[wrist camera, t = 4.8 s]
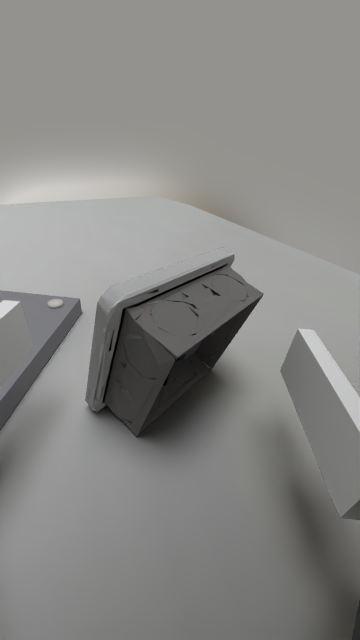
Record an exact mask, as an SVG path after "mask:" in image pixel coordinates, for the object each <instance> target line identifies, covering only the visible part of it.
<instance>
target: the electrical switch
mask: <svg viewBox="0 0 360 640" xmlns="http://www.w3.org/2000/svg"><path fill="white" fill-rule="evenodd" d="M233 261H234V254H233V253H231V252H230V251H228V250H226V249H225V248H223V247H222V248H219V249H216V250H213V251H210V252H207V253H205V254H202V255H199V256H196V257H193V258H190V259H187V260H185V261H182V262H179V263H176V264H173V265H170V266H167V267H165V268H162V269H159V270H156V271H153V272H150V273H147V274H145V275H142V276H139V277H136V278H133V279H130V280H127V281H125V282H122V283H119V284H116V285H113V286H110V287H109V288H108V289H107V291H106V292H105V293H104V294H103V295H102V296H101V297H100V299H99V301H98V302H97V310H96V318H95V326H94V334H93V342H92V350H91V359H90V367H89V375H88V383H87V391H86V398H85V400H86V402H87V403H88V405H89V406H90V407H91V409H92V410H93V411H96V412H98V411H99V410H101V409H102V408H103V407H105V406H106V405H108V407H109V408H110V409H111V410H112V412H113V413H114V414H115V415H116V416H117V417H118V418H119V419H121V420H122V421H123V422H124V423H125V424H126V425H127V427H128V428H129V429H130V430H131V431H132V432H133V434H134V435H135V436H136V437H137V435H139V434H140V433H141V432H142V431H143V430H144V429H145V428H146V427H148V426H149V425H150V424H151V423H152V422H153V421H154V420H155V419H156V418H157V417H159V416H160V415H161V414H162V413H163V412H164V411H165V410H166V409H167V408H168V407H170V406H171V405H172V404H173V403H174V402H175V401H176V400H177V399H178V398H180V397H181V396H182V395H183V394H184V393H185V392H186V391H187V390H188V389H189V388H191V387H192V386H193V385H194V384H195V383H196V382H197V381H198V380H199V379H201V378H202V377H203V376H204V375H205V374H206V373H207V372H208V371H209V370H210V368H211V369H212V368H213V367H214V365H215V364H216V362H217V361H218V359H219V358H220V356H221V355H222V354H223V352H224V351H225V349H226V348H227V346H228V345H229V344H230V342H231V341H232V339H233V338H234V336H235V335H236V333H237V332H238V331H239V329H240V328H241V326H242V325H243V323H244V322H245V321H246V319H247V318H248V316H249V315H250V313H251V312H252V310H253V309H254V308H255V306H256V305H257V303H258V302H259V300H260V299H261V298H262V296H263V293H262V292H260V291H259V290H257V289H256V288H254V287H253V286H251V285H250V284H248V283H247V282H246V281H245V280H244V279H243V278H242V277H241V276H240V275H239V274H238V273H236V272H235V271H233V269H232V268H231V267H230V266H231V265H232V263H233ZM190 361H191V362H192V363H193V364H192V363H191V362H190ZM206 364H207V365H208V366H209V367H210V368H209V367H208V366H207V365H206ZM175 377H176V378H177V379H178V380H177V379H175ZM166 379H167V381H168V383H167V384H166V385H164V386H163V384H164V382H165V380H166ZM187 380H188V381H187ZM183 381H186V382H183ZM158 393H159V395H158ZM158 407H159V408H158ZM157 408H158V409H157Z"/></svg>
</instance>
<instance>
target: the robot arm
mask: <svg viewBox="0 0 360 640" xmlns="http://www.w3.org/2000/svg"><path fill="white" fill-rule="evenodd" d="M32 348H33V344H32V341H31V337H30V334H29V330H28V327H27V323H26V320H25V316H24V313H23V309H22V306H21V302H20V301H9V300H3V301H2V302H1V303H0V388H1V387H2V386H3V384H4V383H5V382H6V381H7V379H8V378H9V377H10V376H11V374H12V373H13V372H14V371H15V369H16V368H17V367H18V366H19V364H20V363H21V362H22V361H23V360H24V358H25V357H26V356H27V355H28V353H29V352H30V351H31V350H32ZM280 371H281V373H282V376H283V378H284V381H285V383H286V386H287V388H288V391H289V393H290V396H291V398H292V401H293V403H294V406H295V408H296V411H297V413H298V416H299V418H300V421H301V423H302V426H303V428H304V430H305V433H306V435H307V438H308V440H309V443H310V445H311V448H312V450H313V453H314V455H315V458H316V460H317V463H318V465H319V468H320V470H321V473H322V475H323V478H324V480H325V483H326V485H327V488H328V490H329V492H330V495H331V497H332V500H333V502H334V505H335V507H336V510H337V512H338V515H339V517H340V518H344V519H356V520H360V397H359V396H358V394H357V393H356V391H355V390H354V388H353V387H352V385H351V384H350V383H349V381H348V380H347V378H346V377H345V375H344V374H343V372H342V371H341V369H340V368H339V366H338V365H337V363H336V362H335V360H334V359H333V358H332V356H331V355H330V353H329V352H328V350H327V349H326V347H325V346H324V344H323V343H322V341H321V340H320V338H319V337H318V335H317V334H316V333H315V331H314V330H308V329H297V332H296V334H295V337H294V339H293V341H292V344H291V346H290V348H289V351H288V353H287V356H286V358H285V360H284V363H283V365H282V367H281V370H280ZM352 640H360V602H359V606H358V611H357V616H356V621H355V626H354V631H353V635H352Z"/></svg>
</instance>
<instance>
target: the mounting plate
mask: <svg viewBox="0 0 360 640" xmlns="http://www.w3.org/2000/svg"><path fill="white" fill-rule="evenodd" d="M3 300H9V301H20V302H21V306H22V309H23V313H24V316H25V320H26V323H27V327H28V330H29V334H30V337H31V341H32V344H33V348H32V350H31V351H30V352H29V353H28V355H27V356H26V357H25V358H24V360H23V361H22V362H21V363H20V364H19V366H18V367H17V368H16V369H15V371H14V372H13V373H12V374H11V376H10V377H9V378H8V379H7V381H6V382H5V383H4V384H3V386H2V387H1V388H0V429H1V428H2V426H3V425H4V423H5V422H6V421H7V419H8V418H9V416H10V415H11V413H12V412H13V411H14V409H15V408H16V406H17V405H18V403H19V402H20V401H21V399H22V398H23V396H24V395H25V393H26V392H27V390H28V389H29V388H30V386H31V385H32V383H33V382H34V380H35V379H36V378H37V376H38V375H39V373H40V372H41V370H42V369H43V368H44V366H45V365H46V363H47V362H48V360H49V359H50V358H51V356H52V355H53V353H54V352H55V350H56V349H57V347H58V346H59V345H60V343H61V342H62V340H63V339H64V337H65V336H66V335H67V333H68V332H69V330H70V329H71V327H72V326H73V325H74V323H75V322H76V320H77V319H78V317H79V316H80V315H81V313H82V311H81V304H80V299H78V298H68V297H58V296H49V295H39V294H29V293H19V292H10V291H0V303H1V302H2V301H3Z"/></svg>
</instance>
